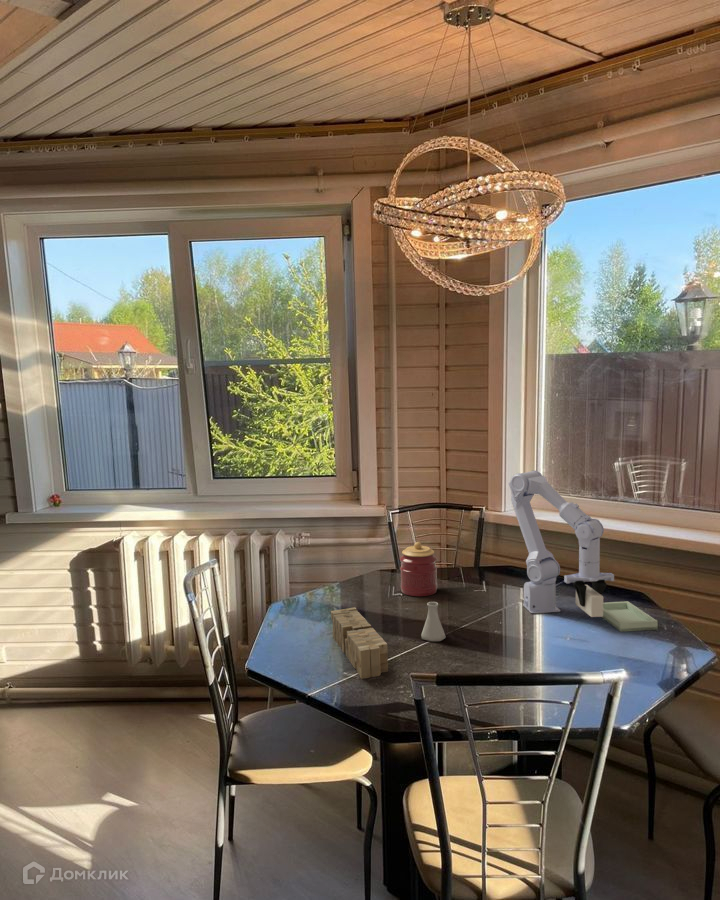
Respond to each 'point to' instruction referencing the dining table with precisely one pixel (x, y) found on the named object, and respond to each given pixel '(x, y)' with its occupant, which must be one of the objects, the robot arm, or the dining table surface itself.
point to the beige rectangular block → (592, 603)
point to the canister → (418, 571)
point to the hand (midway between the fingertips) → (588, 605)
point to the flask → (433, 625)
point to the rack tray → (627, 617)
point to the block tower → (360, 642)
